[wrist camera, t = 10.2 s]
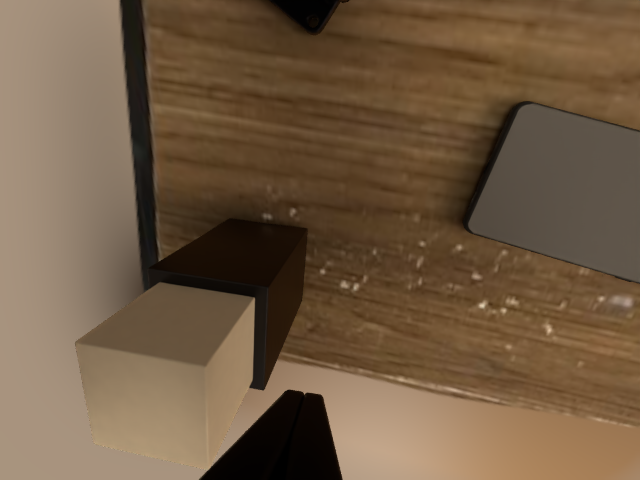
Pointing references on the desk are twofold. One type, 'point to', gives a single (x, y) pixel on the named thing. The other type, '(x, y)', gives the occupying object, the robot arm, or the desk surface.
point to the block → (169, 372)
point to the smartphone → (563, 190)
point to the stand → (247, 278)
